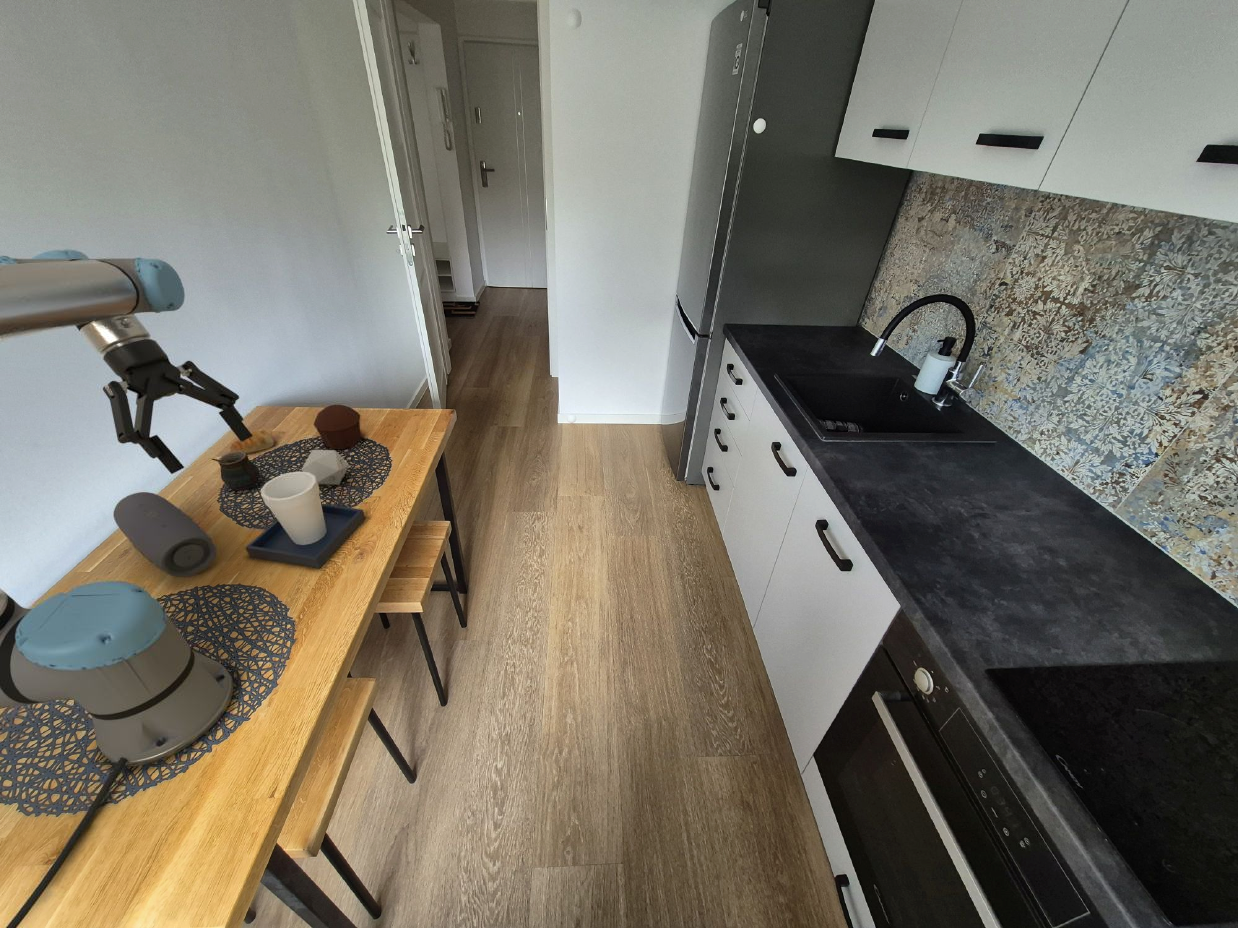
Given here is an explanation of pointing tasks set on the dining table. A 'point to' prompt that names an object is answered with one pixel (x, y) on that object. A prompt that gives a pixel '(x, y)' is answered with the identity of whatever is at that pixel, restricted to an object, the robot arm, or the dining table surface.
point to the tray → (283, 549)
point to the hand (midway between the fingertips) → (215, 454)
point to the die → (326, 466)
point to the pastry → (254, 442)
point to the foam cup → (296, 506)
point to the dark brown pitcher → (238, 470)
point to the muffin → (338, 426)
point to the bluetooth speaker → (164, 534)
